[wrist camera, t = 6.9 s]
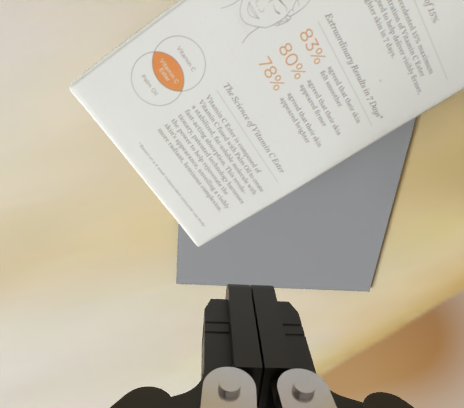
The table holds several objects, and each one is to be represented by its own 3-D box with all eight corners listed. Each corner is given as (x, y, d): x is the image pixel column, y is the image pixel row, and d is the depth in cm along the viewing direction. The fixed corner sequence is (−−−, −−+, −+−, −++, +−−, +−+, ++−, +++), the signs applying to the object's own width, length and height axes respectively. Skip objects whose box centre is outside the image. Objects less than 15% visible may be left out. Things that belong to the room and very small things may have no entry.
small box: (200, 191, 23) (421, 54, 21) (196, 252, 18) (501, 73, 15) (103, 61, 20) (347, -119, 18) (60, 84, 15) (412, -177, 12)
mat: (191, -92, 18) (191, -94, 18) (460, -61, 19) (464, -62, 19) (176, 280, 26) (176, 283, 26) (367, 288, 27) (369, 291, 27)
